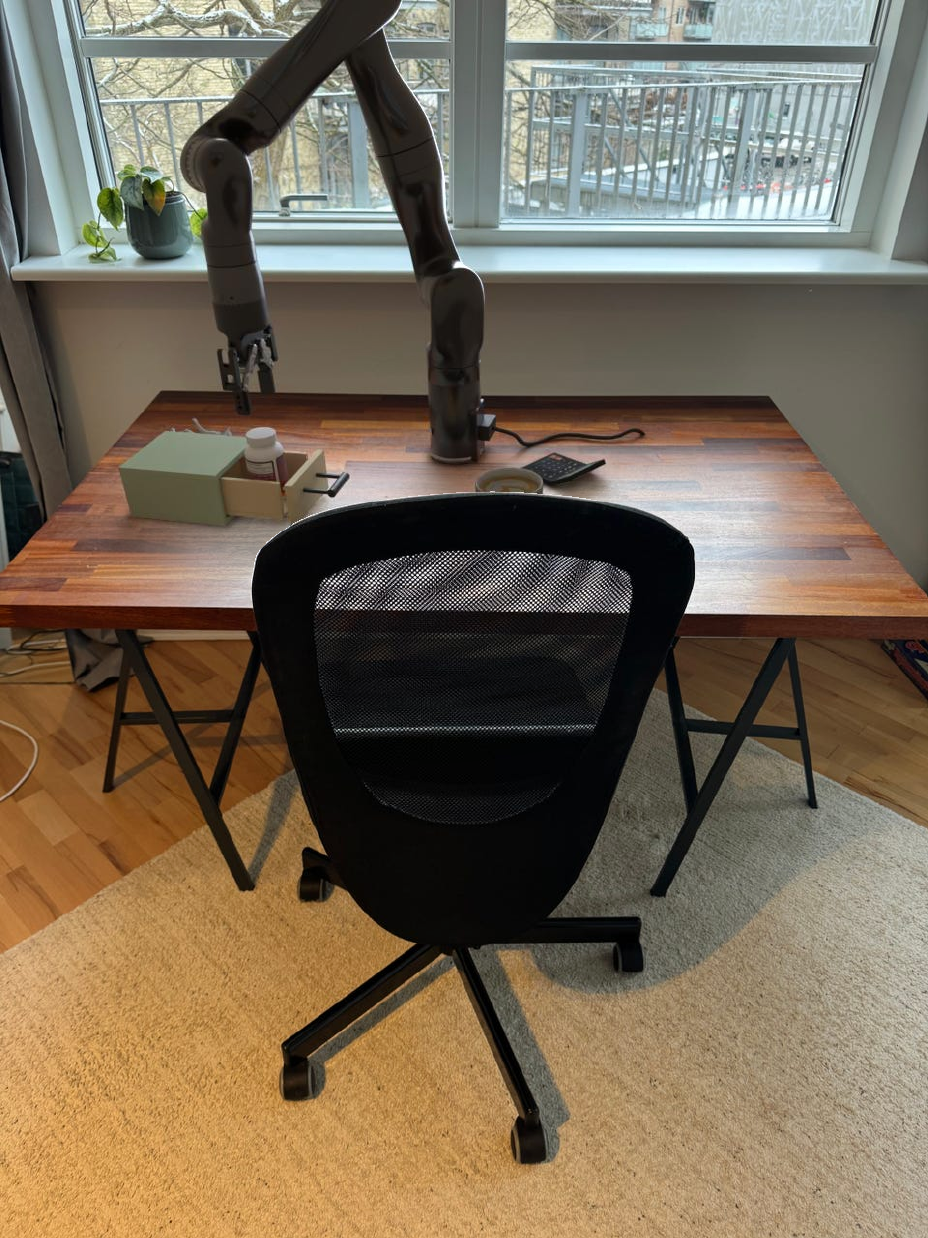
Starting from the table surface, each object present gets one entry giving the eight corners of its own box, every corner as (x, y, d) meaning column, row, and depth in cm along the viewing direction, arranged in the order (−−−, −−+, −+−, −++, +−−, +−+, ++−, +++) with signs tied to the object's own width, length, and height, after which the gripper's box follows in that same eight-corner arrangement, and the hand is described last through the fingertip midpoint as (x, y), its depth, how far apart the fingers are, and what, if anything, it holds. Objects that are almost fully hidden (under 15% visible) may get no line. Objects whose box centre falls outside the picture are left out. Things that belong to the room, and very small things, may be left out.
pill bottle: (277, 484, 148) (266, 421, 142) (298, 495, 144) (288, 431, 138) (245, 496, 145) (233, 432, 138) (266, 508, 141) (254, 443, 135)
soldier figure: (192, 439, 172) (243, 424, 168) (192, 462, 171) (243, 448, 167) (164, 423, 165) (217, 407, 161) (164, 447, 164) (217, 432, 160)
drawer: (359, 490, 148) (355, 452, 144) (330, 529, 137) (325, 489, 133) (243, 480, 152) (236, 442, 148) (206, 517, 141) (198, 477, 138)
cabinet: (264, 485, 153) (255, 437, 148) (225, 526, 141) (215, 475, 136) (176, 477, 156) (165, 430, 151) (131, 516, 144) (117, 467, 139)
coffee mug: (547, 555, 131) (549, 494, 125) (481, 561, 130) (480, 500, 124) (530, 513, 142) (531, 455, 136) (468, 518, 141) (467, 460, 135)
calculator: (553, 456, 159) (554, 441, 157) (605, 475, 152) (606, 459, 150) (518, 473, 154) (518, 457, 152) (570, 493, 147) (571, 477, 145)
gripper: (240, 309, 120) (260, 423, 129) (282, 282, 131) (297, 388, 140) (190, 308, 121) (213, 420, 131) (235, 281, 133) (254, 386, 142)
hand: (257, 403), depth 135 cm, fingers open, 8 cm apart
